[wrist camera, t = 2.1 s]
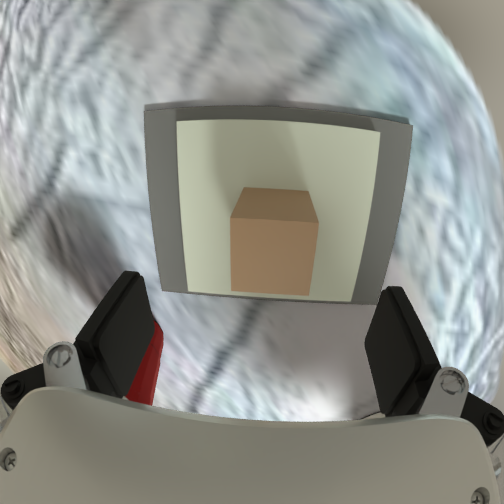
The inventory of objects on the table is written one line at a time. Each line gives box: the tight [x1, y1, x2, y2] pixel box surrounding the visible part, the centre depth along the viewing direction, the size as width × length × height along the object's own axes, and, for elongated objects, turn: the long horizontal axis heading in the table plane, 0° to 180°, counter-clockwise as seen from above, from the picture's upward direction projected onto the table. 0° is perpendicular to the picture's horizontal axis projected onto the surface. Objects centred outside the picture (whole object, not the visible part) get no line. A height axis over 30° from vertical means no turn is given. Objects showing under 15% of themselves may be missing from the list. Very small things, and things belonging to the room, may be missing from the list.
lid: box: [177, 119, 380, 302], centre depth 19 cm, size 14×14×7 cm
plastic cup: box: [122, 320, 163, 406], centre depth 24 cm, size 11×11×12 cm
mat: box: [144, 106, 413, 305], centre depth 22 cm, size 20×16×1 cm
